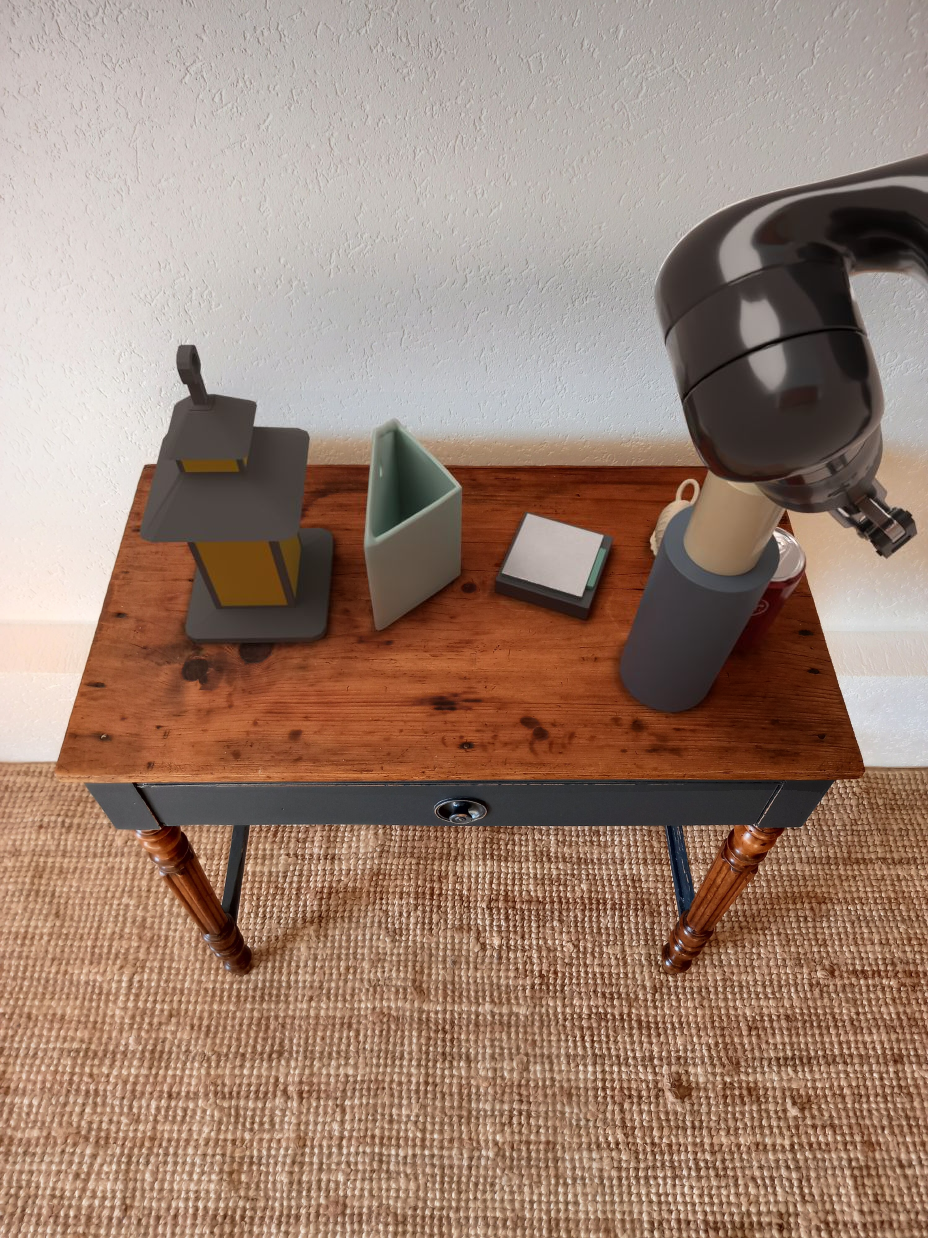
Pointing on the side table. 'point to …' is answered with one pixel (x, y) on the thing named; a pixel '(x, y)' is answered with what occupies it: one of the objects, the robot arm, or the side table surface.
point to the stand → (688, 622)
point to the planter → (409, 524)
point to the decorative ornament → (672, 513)
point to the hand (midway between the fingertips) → (830, 485)
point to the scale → (554, 565)
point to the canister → (730, 526)
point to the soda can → (775, 591)
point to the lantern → (239, 519)
